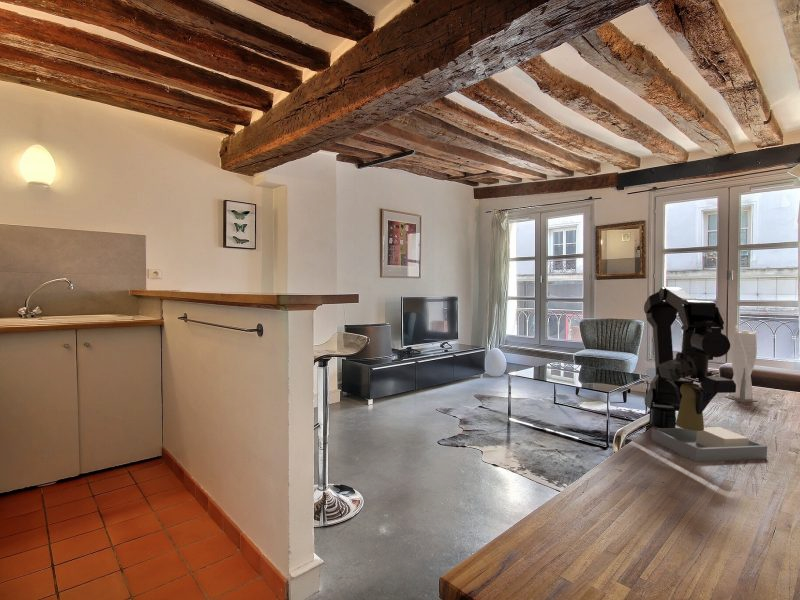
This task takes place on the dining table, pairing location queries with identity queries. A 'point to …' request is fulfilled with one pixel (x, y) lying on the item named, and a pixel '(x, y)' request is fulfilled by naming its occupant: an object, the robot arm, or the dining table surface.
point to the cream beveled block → (720, 438)
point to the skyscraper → (743, 364)
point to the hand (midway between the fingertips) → (690, 411)
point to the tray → (687, 447)
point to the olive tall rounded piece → (689, 409)
